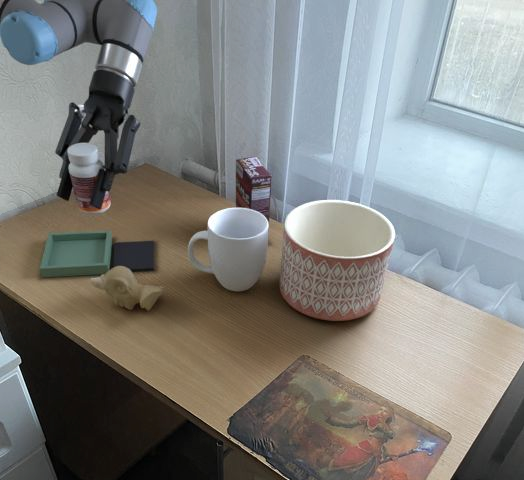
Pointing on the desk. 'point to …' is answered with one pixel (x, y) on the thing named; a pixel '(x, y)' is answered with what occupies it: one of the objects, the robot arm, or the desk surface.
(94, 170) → the pill bottle
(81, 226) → the desk surface
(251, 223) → the mug
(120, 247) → the scrub mat
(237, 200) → the supplement box
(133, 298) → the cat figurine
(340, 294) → the planter
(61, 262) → the tray
